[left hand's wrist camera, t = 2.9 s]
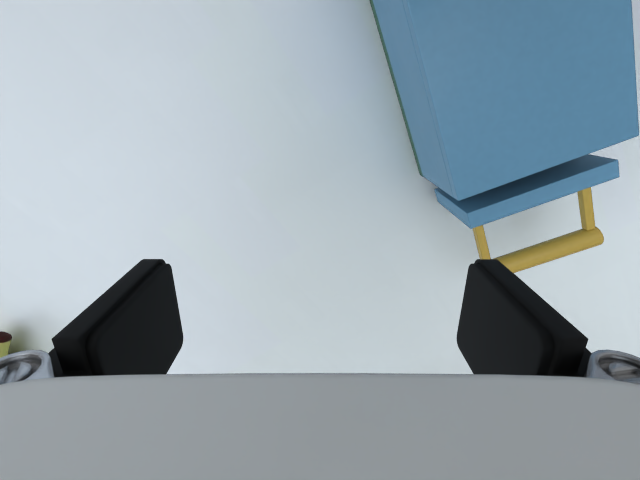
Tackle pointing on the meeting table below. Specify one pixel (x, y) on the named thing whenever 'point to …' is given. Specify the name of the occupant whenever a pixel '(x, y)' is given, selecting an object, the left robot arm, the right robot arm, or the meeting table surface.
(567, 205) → the meeting table surface
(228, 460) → the left robot arm
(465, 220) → the drawer
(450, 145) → the cabinet
